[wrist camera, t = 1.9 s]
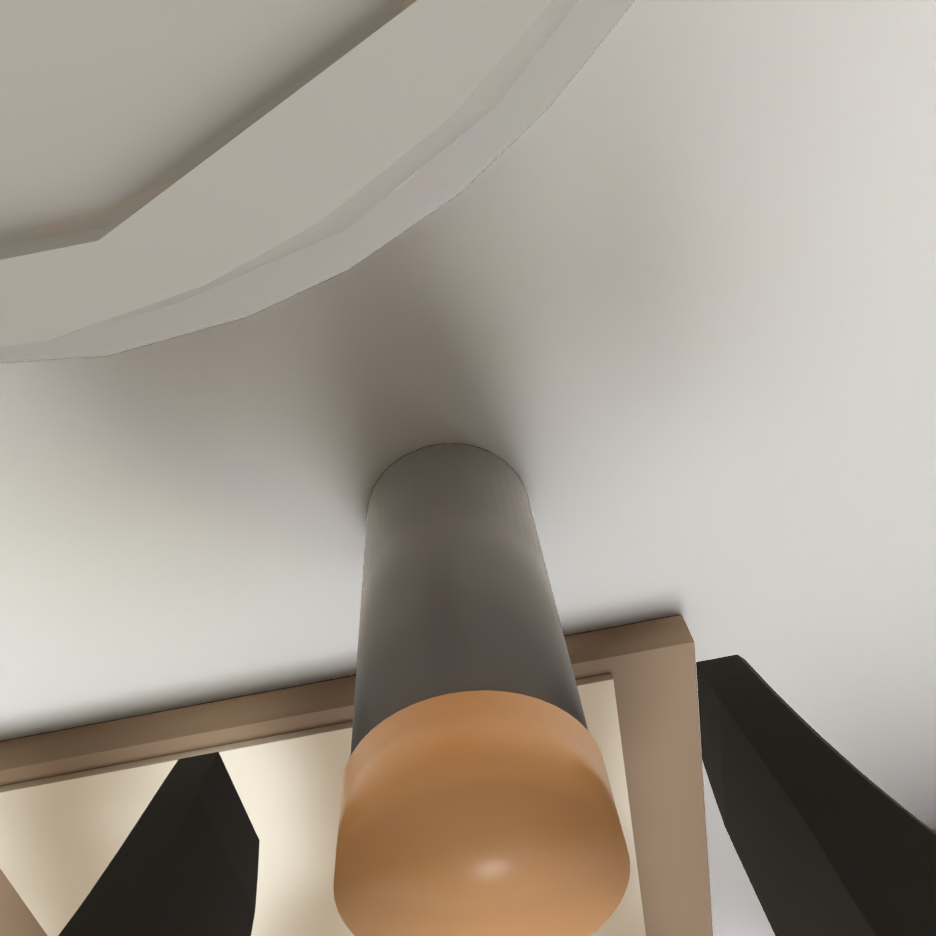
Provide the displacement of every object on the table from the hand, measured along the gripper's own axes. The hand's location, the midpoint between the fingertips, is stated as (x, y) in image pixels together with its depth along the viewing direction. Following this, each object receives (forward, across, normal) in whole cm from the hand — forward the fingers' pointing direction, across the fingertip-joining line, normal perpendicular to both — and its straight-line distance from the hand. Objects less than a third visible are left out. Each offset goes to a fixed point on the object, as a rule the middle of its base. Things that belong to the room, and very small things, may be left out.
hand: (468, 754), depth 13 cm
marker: (+7, 0, 0) cm, 7 cm away
